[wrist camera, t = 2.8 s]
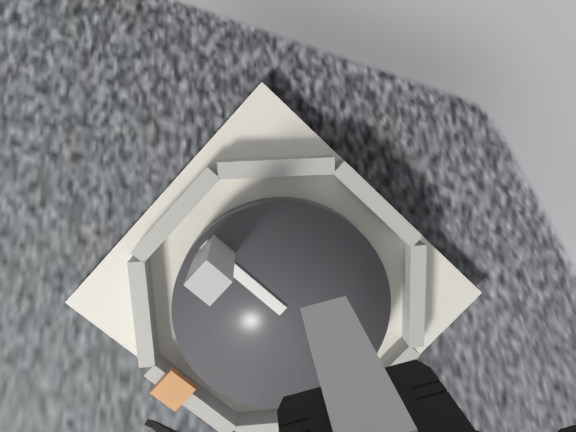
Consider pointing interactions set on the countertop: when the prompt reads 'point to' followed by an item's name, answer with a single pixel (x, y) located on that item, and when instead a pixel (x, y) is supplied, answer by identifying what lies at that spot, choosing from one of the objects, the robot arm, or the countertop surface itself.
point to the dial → (271, 295)
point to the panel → (234, 192)
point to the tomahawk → (157, 426)
